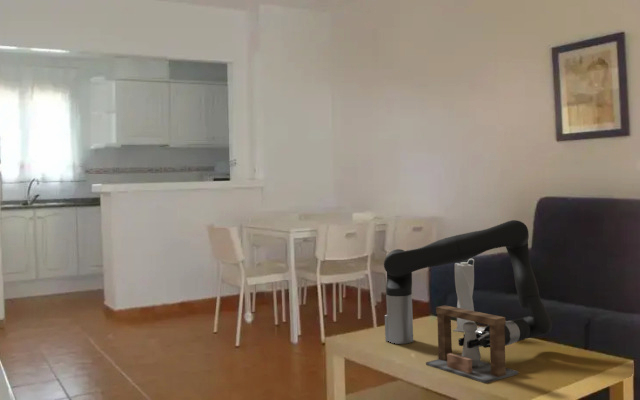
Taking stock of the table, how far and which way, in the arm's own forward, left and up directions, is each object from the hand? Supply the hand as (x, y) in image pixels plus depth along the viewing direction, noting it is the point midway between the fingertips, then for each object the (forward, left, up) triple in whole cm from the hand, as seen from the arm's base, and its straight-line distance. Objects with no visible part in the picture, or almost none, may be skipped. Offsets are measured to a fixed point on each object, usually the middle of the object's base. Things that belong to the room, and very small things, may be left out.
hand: (463, 343), depth 206 cm
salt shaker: (+1, +3, -7) cm, 8 cm away
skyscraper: (-21, +48, -9) cm, 54 cm away
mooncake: (-9, +40, -9) cm, 42 cm away
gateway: (+1, +2, -8) cm, 9 cm away
